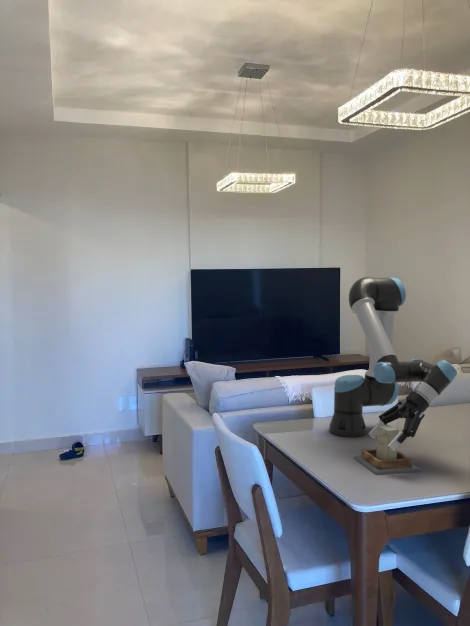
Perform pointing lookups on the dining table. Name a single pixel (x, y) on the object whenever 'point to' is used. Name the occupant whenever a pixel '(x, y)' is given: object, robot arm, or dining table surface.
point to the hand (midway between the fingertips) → (380, 442)
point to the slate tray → (385, 471)
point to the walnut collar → (386, 464)
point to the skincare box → (385, 442)
